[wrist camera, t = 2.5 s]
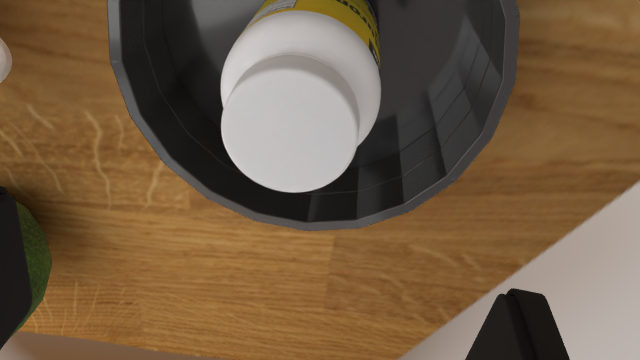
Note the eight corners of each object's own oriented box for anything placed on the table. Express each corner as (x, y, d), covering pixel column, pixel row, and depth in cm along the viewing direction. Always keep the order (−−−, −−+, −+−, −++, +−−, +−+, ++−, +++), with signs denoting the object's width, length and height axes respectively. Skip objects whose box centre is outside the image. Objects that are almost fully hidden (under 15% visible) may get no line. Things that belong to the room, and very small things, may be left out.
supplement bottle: (401, 55, 23) (416, 169, 15) (301, 110, 25) (265, 238, 17) (339, -58, 21) (315, 4, 13) (234, 13, 23) (154, 106, 15)
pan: (156, 141, 27) (116, 194, 23) (155, -208, 19) (94, -223, 15) (432, 195, 28) (443, 258, 23) (549, -125, 19) (597, -116, 15)
